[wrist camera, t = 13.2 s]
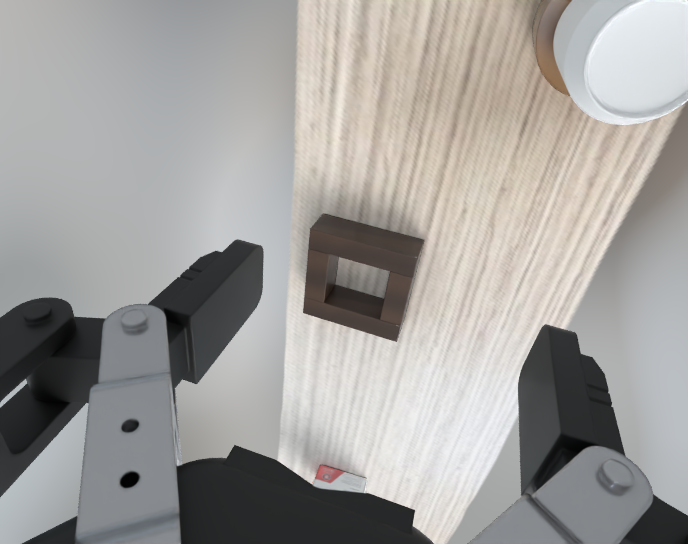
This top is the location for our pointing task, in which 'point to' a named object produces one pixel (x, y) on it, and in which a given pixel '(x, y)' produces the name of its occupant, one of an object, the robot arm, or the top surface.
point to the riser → (548, 40)
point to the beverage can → (624, 57)
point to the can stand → (368, 248)
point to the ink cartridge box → (339, 480)
